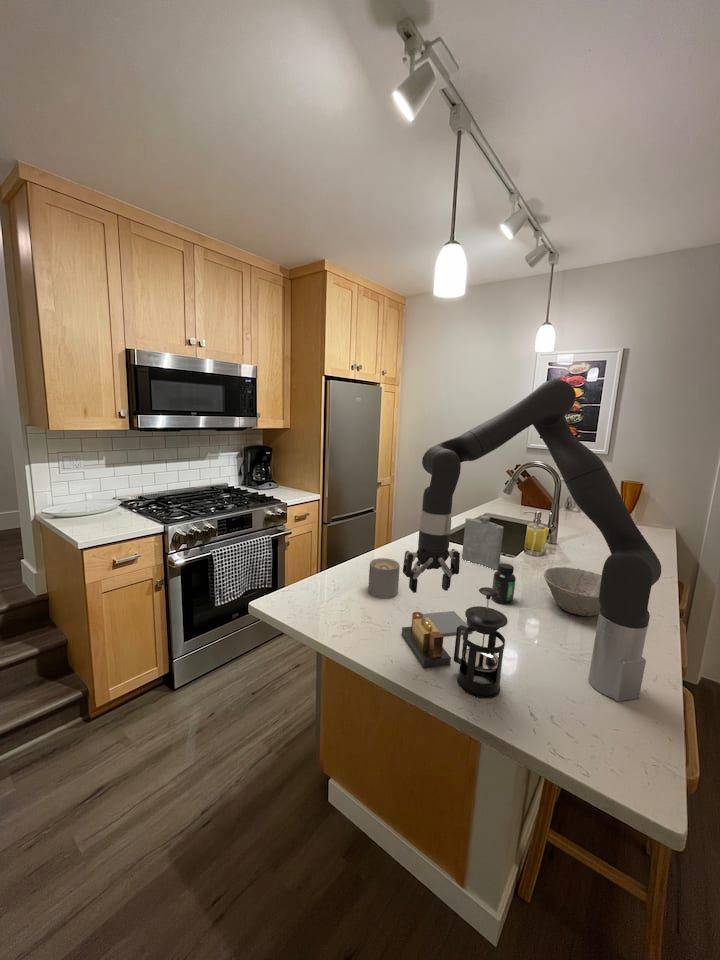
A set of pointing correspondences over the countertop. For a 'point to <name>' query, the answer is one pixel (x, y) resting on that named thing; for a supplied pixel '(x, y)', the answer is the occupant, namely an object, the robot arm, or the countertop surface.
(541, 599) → the countertop surface
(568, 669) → the countertop surface
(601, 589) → the robot arm
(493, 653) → the french press
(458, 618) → the rubber mat
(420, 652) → the hand plane
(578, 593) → the ceramic bowl
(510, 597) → the supplement bottle
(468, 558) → the notched spreader
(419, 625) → the lever cap
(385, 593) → the coffee mug
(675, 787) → the countertop surface
